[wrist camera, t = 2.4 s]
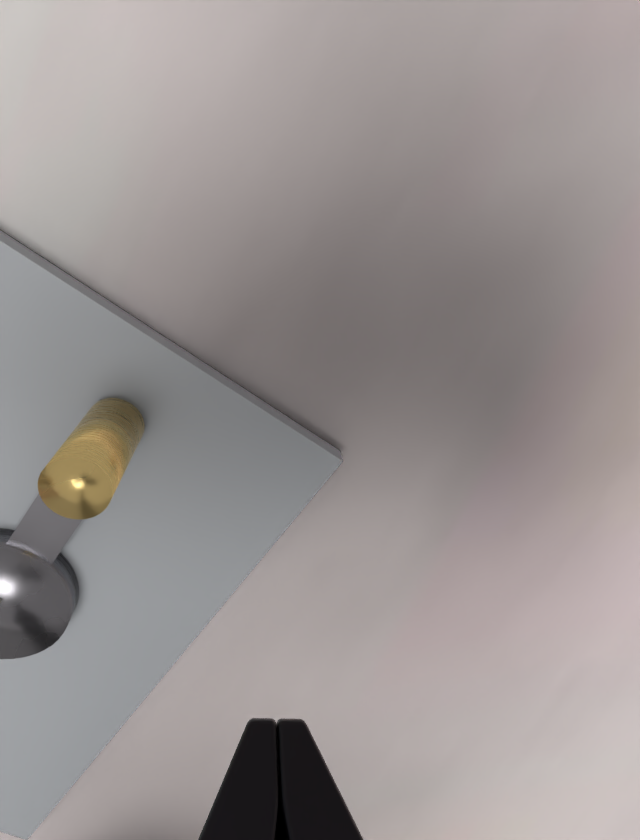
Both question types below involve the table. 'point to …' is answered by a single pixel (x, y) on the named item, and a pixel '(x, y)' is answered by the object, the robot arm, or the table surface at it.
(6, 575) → the metal measuring spoon
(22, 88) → the table surface
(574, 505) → the table surface
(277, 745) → the robot arm
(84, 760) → the board
